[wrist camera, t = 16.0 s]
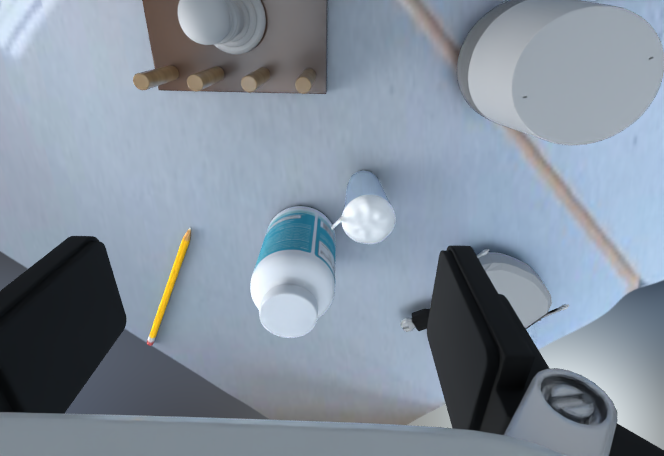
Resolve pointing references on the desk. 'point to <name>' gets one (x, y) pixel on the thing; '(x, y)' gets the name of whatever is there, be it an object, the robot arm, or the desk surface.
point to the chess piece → (223, 23)
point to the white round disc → (506, 290)
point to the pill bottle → (295, 272)
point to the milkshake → (366, 210)
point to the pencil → (169, 287)
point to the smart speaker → (561, 68)
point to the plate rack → (241, 69)
